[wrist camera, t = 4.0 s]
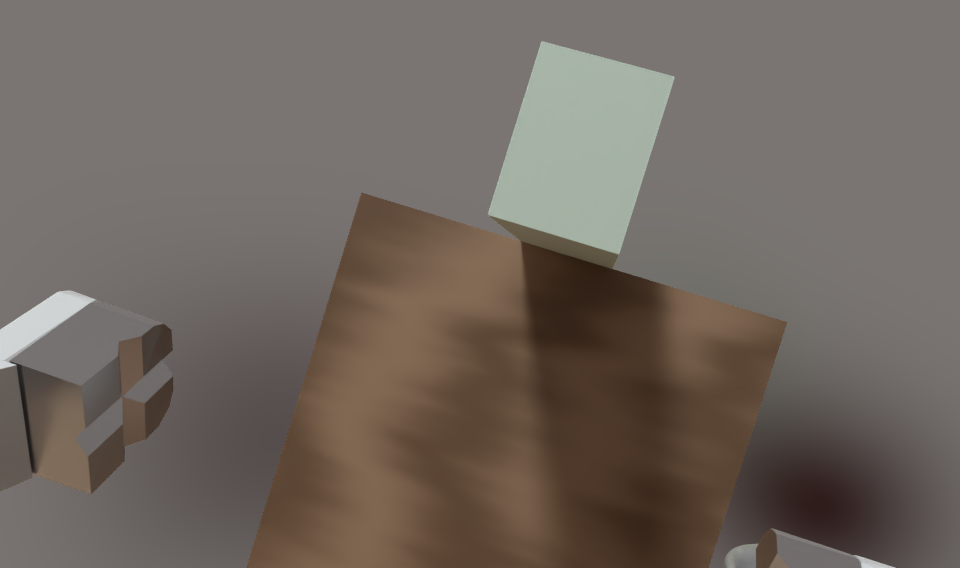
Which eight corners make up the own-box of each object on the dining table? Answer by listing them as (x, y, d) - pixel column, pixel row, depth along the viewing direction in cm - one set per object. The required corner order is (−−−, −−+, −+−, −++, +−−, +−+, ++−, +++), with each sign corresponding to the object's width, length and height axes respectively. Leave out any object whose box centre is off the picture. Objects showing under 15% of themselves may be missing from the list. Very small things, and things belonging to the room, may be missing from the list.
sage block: (606, 279, 38) (632, 198, 38) (618, 254, 18) (674, 76, 18) (546, 261, 39) (571, 180, 39) (487, 214, 18) (541, 41, 18)
